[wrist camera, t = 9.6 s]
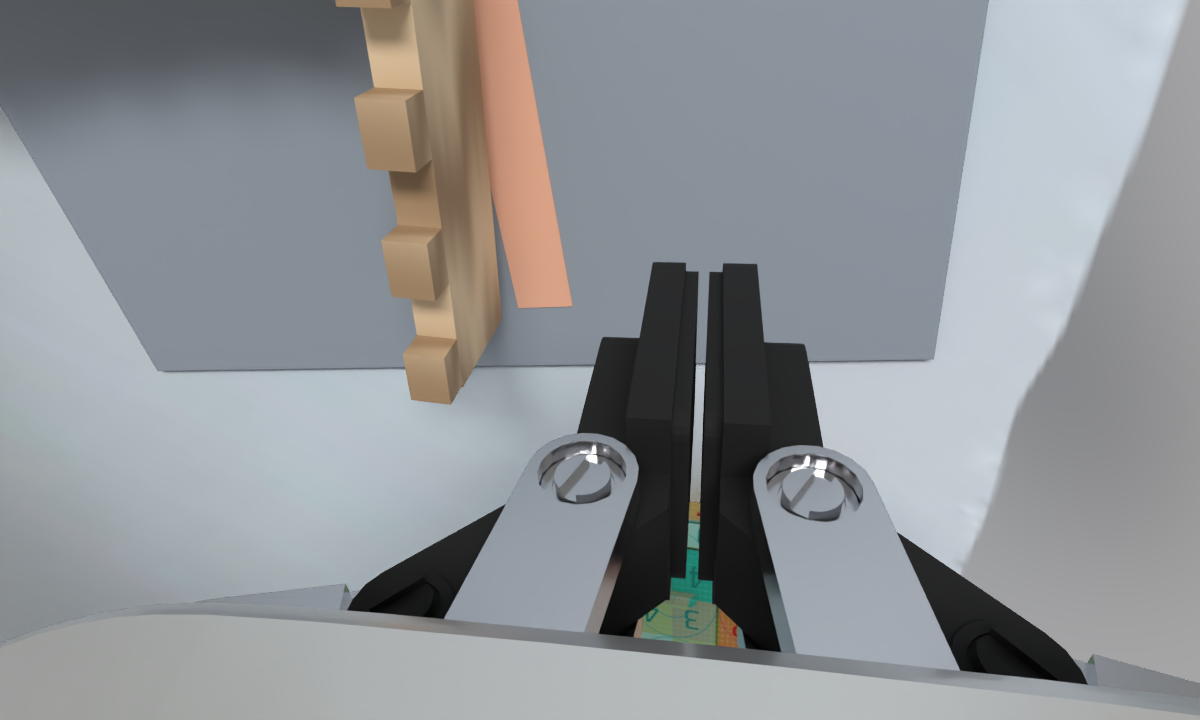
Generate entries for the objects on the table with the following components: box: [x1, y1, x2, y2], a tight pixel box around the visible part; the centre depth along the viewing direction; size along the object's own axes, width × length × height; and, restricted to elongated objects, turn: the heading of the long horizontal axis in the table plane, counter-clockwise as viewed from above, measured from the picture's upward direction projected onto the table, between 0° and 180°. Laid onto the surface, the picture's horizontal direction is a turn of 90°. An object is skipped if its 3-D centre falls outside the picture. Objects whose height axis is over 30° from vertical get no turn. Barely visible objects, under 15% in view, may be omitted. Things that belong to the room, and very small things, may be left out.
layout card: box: [0, 0, 989, 371], centre depth 20 cm, size 24×31×1 cm
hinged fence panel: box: [335, 0, 502, 405], centre depth 18 cm, size 14×2×6 cm, turn 0°
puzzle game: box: [641, 502, 738, 648], centre depth 32 cm, size 12×5×20 cm
